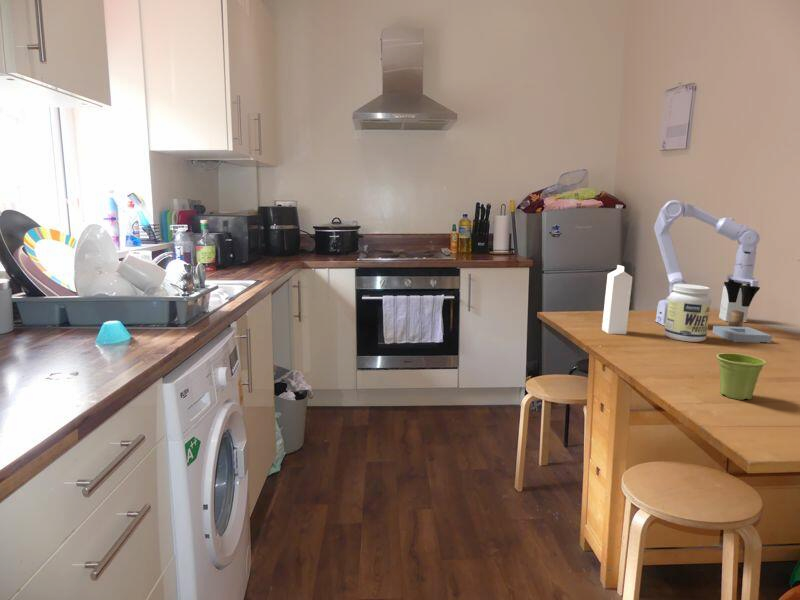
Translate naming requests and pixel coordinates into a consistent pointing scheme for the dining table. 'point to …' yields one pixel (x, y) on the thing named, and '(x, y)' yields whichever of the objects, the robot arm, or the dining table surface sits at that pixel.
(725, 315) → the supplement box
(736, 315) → the dowel
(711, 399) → the dining table surface
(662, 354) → the dining table surface
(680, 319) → the supplement tub
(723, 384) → the plant pot
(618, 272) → the milk
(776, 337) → the dining table surface
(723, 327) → the socket block
